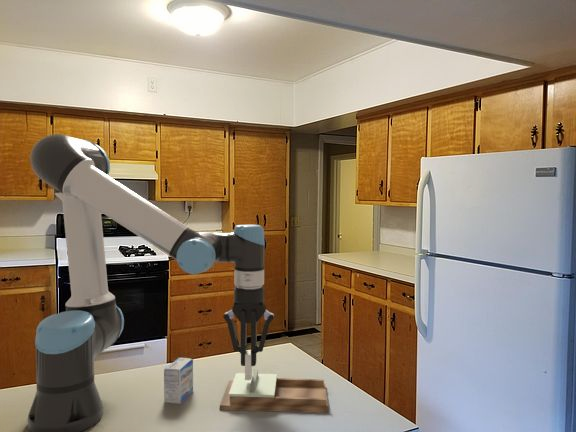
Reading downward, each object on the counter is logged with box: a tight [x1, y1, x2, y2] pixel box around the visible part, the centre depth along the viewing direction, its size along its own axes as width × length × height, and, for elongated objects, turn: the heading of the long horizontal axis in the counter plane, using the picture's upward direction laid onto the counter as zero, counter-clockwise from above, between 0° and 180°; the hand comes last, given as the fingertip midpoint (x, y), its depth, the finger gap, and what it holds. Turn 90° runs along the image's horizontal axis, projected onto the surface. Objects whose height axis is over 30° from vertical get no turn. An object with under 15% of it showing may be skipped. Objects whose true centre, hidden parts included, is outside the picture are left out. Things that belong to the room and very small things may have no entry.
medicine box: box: [163, 357, 194, 405], centre depth 112 cm, size 8×4×9 cm, turn 168°
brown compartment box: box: [219, 377, 329, 414], centre depth 113 cm, size 26×14×3 cm, turn 88°
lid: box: [229, 369, 278, 398], centre depth 113 cm, size 11×12×2 cm
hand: (248, 377), depth 113 cm, fingers closed
